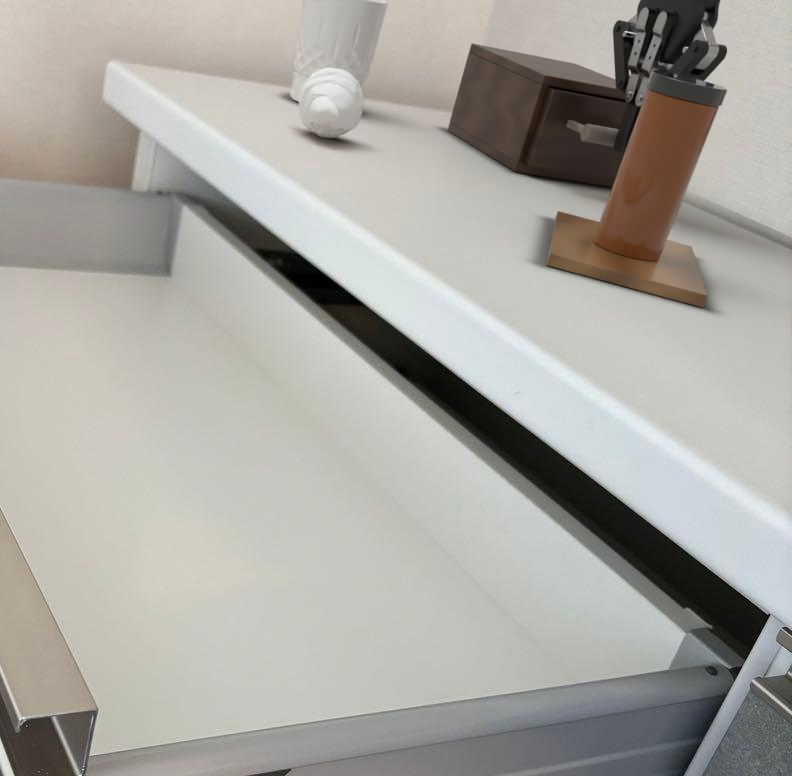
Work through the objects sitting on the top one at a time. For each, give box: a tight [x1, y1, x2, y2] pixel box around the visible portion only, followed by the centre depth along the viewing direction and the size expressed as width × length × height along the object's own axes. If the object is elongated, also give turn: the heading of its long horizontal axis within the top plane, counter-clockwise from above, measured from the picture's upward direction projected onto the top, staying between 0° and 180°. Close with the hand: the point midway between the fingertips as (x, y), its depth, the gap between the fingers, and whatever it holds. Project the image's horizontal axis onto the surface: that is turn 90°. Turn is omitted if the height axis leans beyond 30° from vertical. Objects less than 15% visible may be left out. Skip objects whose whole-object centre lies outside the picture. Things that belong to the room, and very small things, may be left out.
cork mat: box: [546, 210, 709, 308], centre depth 75 cm, size 10×14×1 cm
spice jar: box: [593, 71, 728, 261], centre depth 72 cm, size 5×5×11 cm
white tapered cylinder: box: [289, 0, 389, 103], centre depth 105 cm, size 8×8×10 cm
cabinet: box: [447, 42, 625, 188], centre depth 102 cm, size 16×12×8 cm
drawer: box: [525, 86, 627, 180], centre depth 99 cm, size 19×10×6 cm, turn 14°
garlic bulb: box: [298, 68, 365, 139], centre depth 90 cm, size 6×6×5 cm
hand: (628, 154), depth 91 cm, fingers closed
